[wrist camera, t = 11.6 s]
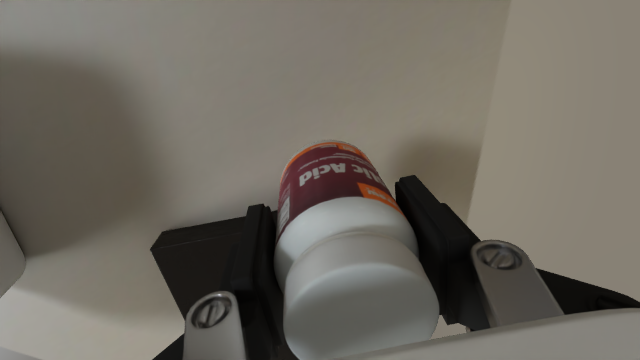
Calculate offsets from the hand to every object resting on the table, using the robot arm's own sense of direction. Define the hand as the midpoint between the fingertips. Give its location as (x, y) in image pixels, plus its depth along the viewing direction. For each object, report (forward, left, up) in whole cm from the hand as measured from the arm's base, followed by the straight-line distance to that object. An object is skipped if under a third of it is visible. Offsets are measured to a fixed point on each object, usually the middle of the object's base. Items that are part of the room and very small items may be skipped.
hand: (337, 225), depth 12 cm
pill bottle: (0, 0, -4) cm, 4 cm away
